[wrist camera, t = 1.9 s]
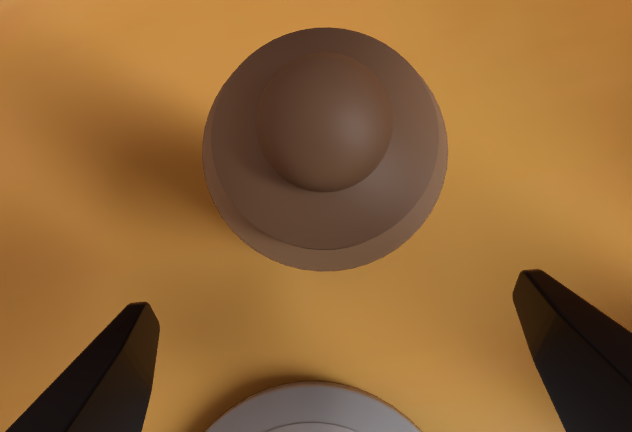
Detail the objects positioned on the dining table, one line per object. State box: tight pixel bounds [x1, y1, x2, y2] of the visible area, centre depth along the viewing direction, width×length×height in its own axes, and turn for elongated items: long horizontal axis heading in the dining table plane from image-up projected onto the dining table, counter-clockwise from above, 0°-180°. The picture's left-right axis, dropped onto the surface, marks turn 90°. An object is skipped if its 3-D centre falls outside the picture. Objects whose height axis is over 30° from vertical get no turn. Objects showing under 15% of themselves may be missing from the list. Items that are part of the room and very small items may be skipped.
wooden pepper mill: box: [202, 28, 448, 271], centre depth 13 cm, size 5×5×15 cm
